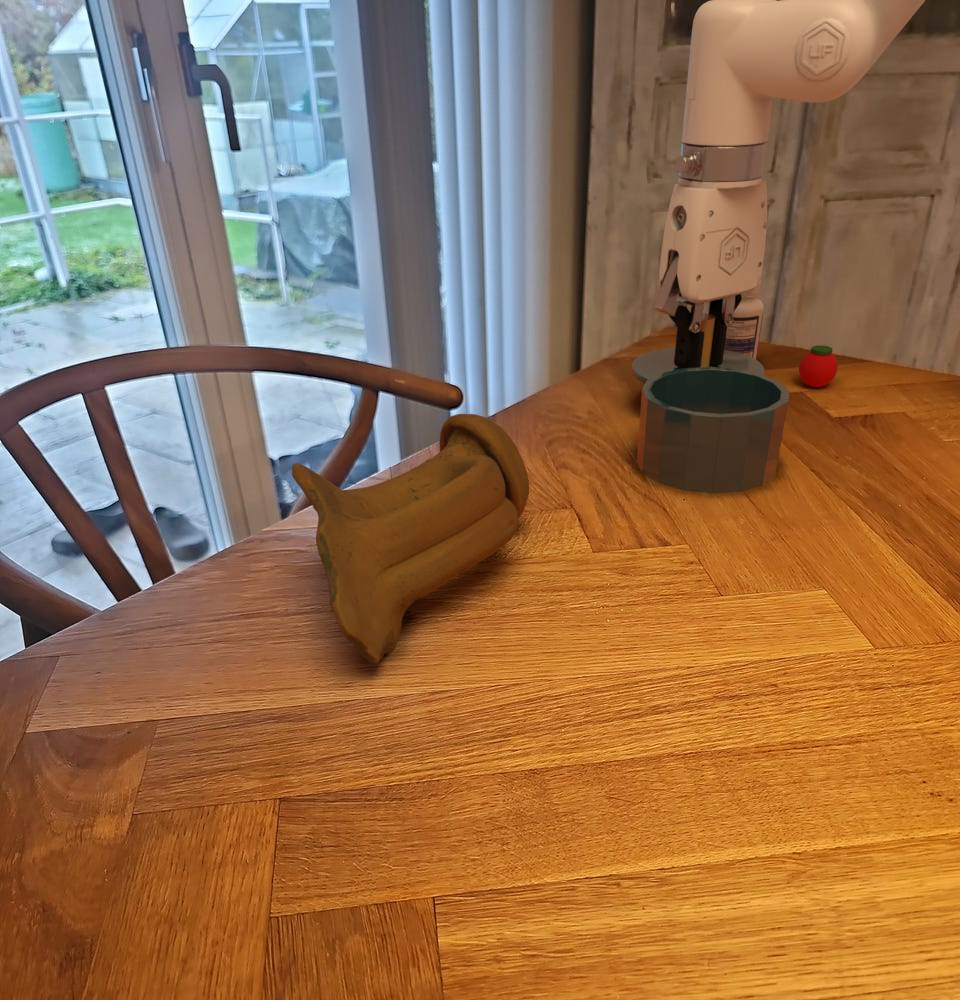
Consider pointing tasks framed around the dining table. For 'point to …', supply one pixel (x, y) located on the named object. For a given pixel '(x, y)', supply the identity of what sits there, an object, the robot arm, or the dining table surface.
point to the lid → (664, 359)
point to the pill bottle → (746, 325)
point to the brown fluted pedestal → (415, 528)
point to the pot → (711, 429)
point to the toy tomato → (818, 366)
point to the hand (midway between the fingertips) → (697, 363)
